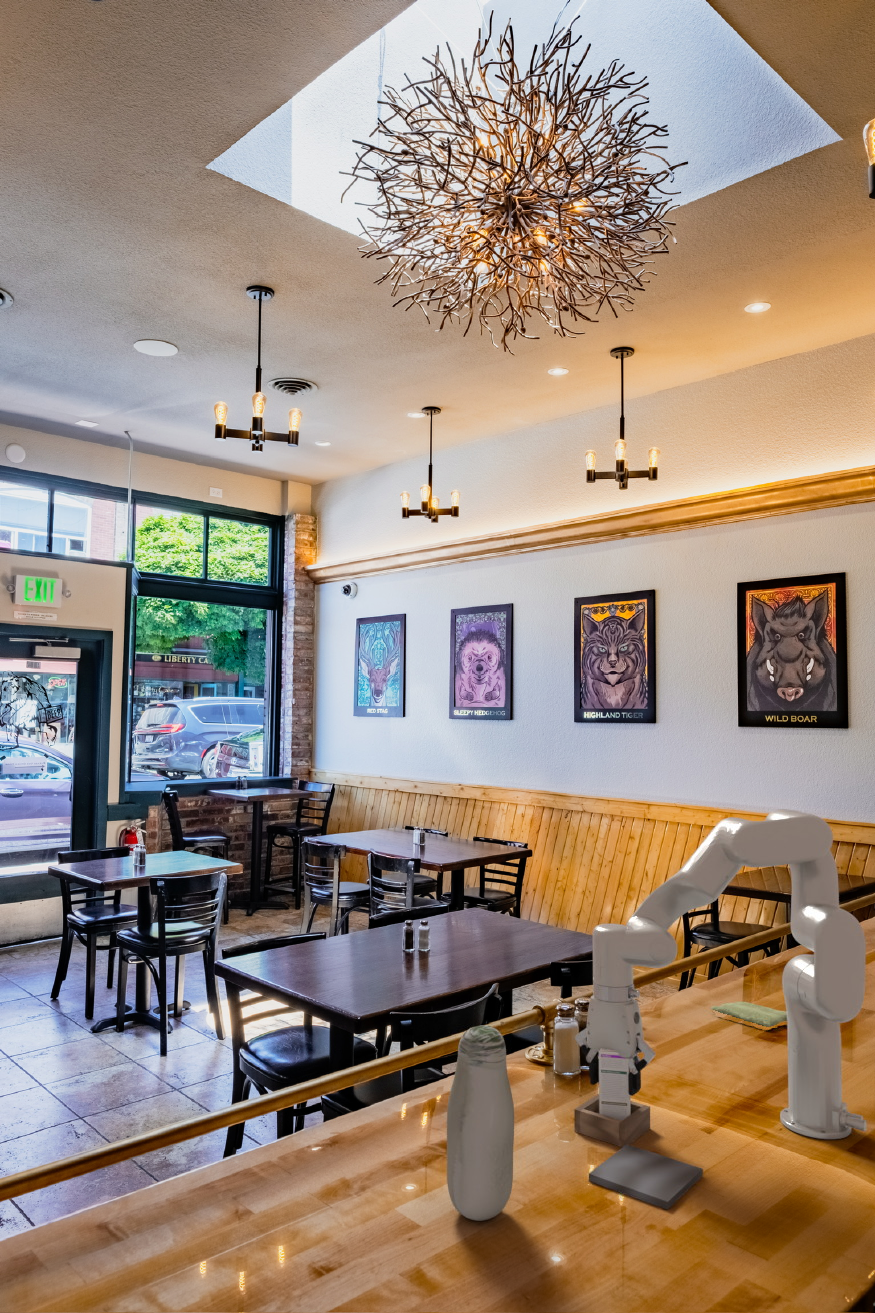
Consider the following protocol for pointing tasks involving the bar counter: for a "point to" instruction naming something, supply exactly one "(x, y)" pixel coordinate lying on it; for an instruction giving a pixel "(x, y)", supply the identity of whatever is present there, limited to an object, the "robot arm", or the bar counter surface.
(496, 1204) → the white bottle
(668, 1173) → the serving board
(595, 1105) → the walnut holder
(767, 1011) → the washcloth
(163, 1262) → the bar counter surface
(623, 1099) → the syrup box
